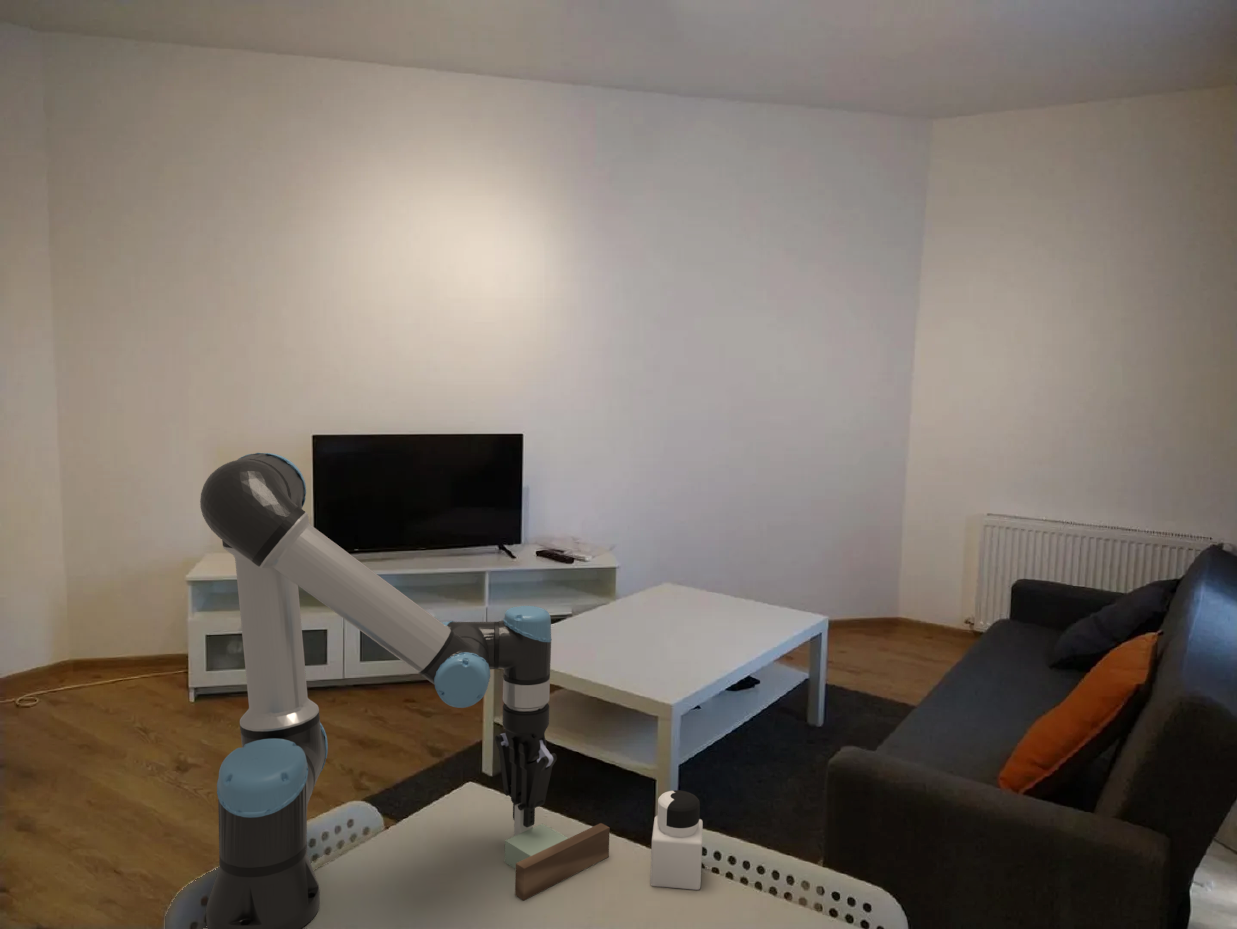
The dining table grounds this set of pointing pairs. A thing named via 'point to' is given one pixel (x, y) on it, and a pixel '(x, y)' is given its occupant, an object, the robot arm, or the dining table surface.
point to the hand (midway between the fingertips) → (523, 841)
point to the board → (561, 861)
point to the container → (677, 842)
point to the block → (530, 843)
